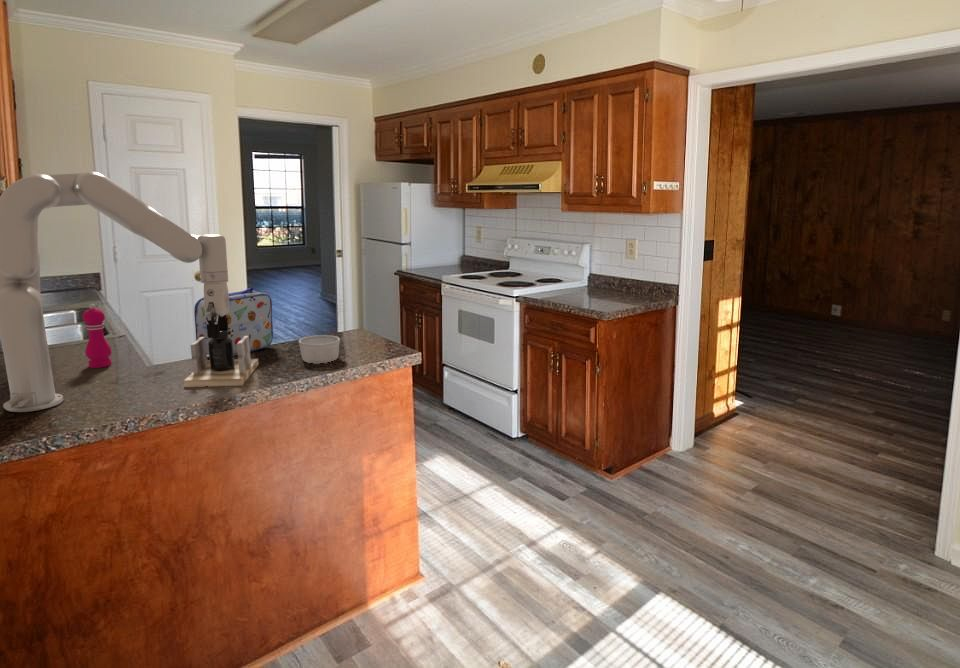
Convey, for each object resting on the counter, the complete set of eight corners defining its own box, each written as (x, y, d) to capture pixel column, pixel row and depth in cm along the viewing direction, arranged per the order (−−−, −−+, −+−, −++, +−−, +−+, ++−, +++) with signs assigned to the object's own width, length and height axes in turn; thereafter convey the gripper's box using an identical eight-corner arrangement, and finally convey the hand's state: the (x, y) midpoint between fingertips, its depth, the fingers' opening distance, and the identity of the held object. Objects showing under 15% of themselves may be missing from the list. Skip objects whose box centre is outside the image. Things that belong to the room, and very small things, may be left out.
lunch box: (260, 342, 235) (256, 283, 230) (280, 346, 230) (276, 285, 225) (194, 359, 212) (187, 293, 207) (214, 363, 207) (208, 296, 202)
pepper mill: (89, 369, 199) (80, 306, 195) (85, 365, 205) (76, 303, 200) (115, 365, 204) (107, 304, 199) (110, 361, 209) (102, 301, 205)
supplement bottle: (239, 367, 195) (236, 329, 192) (220, 373, 189) (217, 333, 187) (225, 364, 198) (221, 326, 196) (205, 369, 193) (202, 330, 190)
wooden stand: (242, 385, 184) (239, 348, 182) (184, 387, 182) (180, 350, 180) (258, 364, 206) (256, 331, 203) (206, 366, 204) (203, 332, 201)
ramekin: (344, 363, 208) (343, 342, 207) (302, 367, 203) (301, 345, 202) (337, 353, 220) (336, 333, 219) (297, 357, 215) (296, 336, 214)
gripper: (219, 281, 179) (223, 340, 183) (234, 273, 196) (238, 328, 200) (191, 281, 178) (196, 340, 182) (209, 273, 195) (213, 328, 199)
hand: (218, 334), depth 191 cm, fingers open, 9 cm apart
